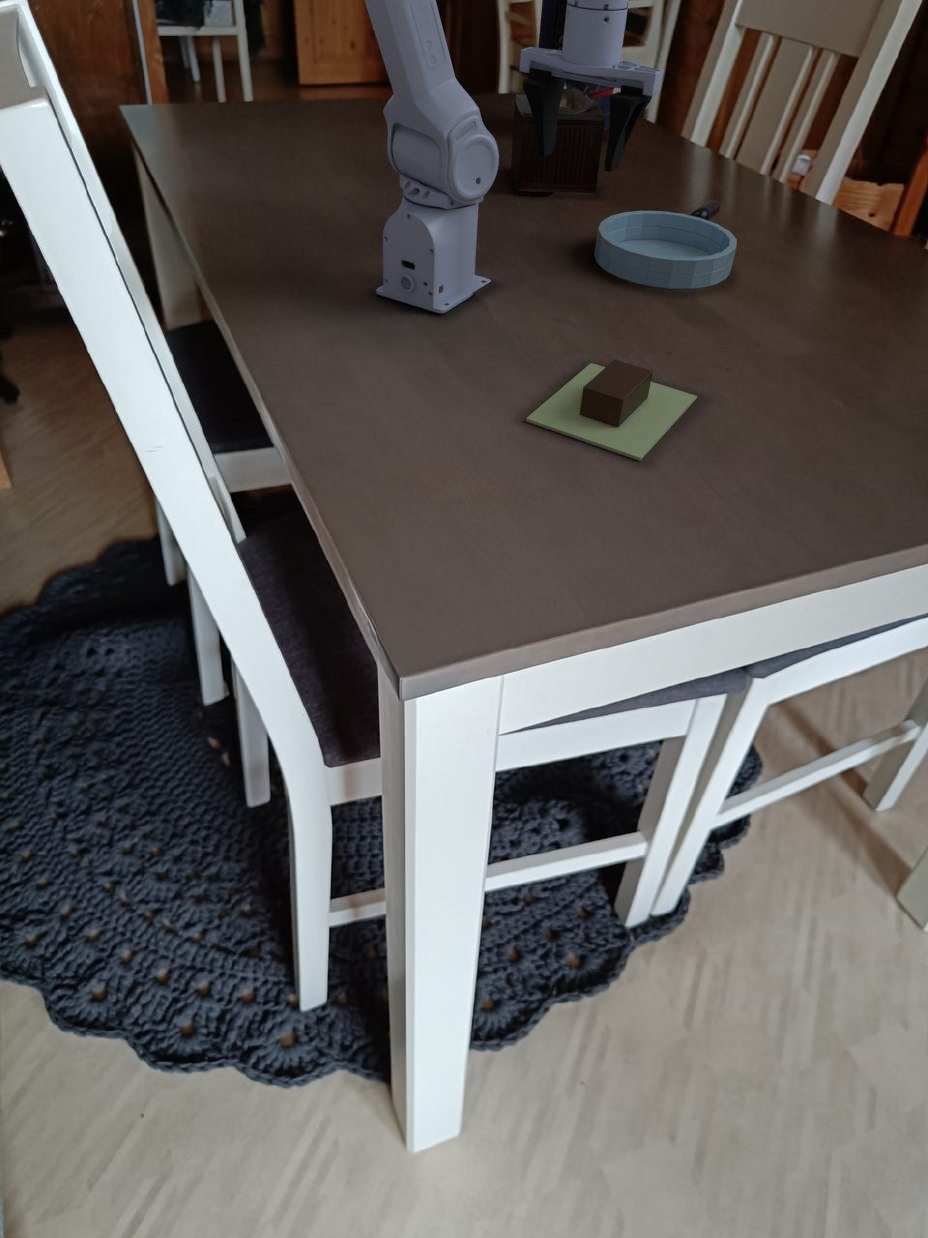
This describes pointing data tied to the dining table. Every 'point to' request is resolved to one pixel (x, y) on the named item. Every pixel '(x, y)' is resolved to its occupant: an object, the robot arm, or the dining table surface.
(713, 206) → the pan handle
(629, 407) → the chocolate
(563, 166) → the vintage coffee grinder
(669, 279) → the pan
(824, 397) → the dining table surface
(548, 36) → the dark blue tall block
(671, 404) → the cloth
